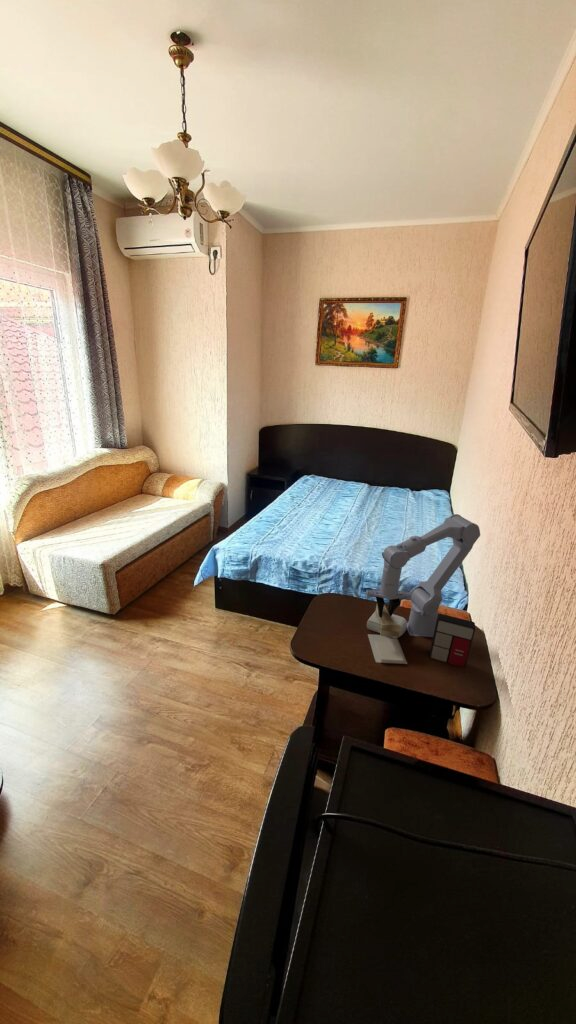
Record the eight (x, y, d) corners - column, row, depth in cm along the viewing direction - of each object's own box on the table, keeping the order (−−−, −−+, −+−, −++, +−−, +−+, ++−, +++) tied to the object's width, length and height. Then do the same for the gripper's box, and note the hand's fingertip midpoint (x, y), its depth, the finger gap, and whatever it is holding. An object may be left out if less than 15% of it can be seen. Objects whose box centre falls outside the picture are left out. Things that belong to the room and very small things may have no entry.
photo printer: (365, 630, 143) (400, 642, 137) (367, 619, 142) (402, 631, 136) (375, 617, 152) (408, 627, 146) (376, 607, 150) (410, 617, 144)
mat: (395, 637, 141) (396, 635, 141) (407, 665, 128) (407, 663, 127) (367, 635, 141) (367, 634, 140) (375, 663, 127) (375, 662, 127)
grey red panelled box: (428, 659, 131) (437, 619, 126) (429, 651, 135) (438, 612, 130) (465, 669, 128) (475, 629, 122) (464, 661, 131) (475, 622, 126)
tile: (396, 641, 135) (403, 660, 127) (395, 645, 136) (402, 664, 127) (375, 640, 135) (381, 659, 126) (374, 644, 135) (380, 663, 127)
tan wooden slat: (387, 613, 146) (388, 603, 145) (399, 636, 131) (400, 625, 130) (370, 612, 146) (371, 602, 145) (380, 635, 131) (382, 624, 130)
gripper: (408, 576, 138) (402, 610, 143) (366, 573, 138) (361, 608, 142) (414, 586, 131) (407, 622, 136) (370, 584, 131) (365, 620, 136)
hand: (384, 615), depth 139 cm, fingers closed on tan wooden slat, 2 cm apart
